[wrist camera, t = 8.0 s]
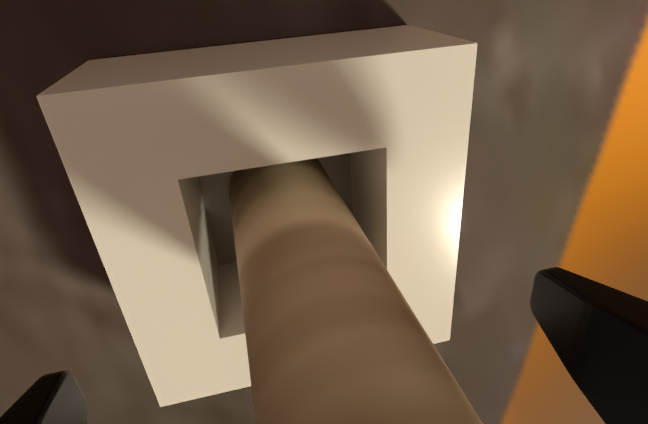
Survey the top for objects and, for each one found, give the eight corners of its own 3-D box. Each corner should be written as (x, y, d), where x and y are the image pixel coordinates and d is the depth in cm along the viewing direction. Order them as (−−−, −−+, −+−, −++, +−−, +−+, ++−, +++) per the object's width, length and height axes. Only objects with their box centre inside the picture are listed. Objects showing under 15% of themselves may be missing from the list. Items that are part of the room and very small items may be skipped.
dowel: (331, 224, 15) (497, 548, 7) (238, 242, 15) (288, 621, 6) (324, 136, 14) (530, 412, 5) (219, 152, 13) (251, 494, 4)
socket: (403, 268, 17) (449, 340, 14) (171, 314, 16) (160, 407, 13) (407, 24, 13) (477, 43, 10) (88, 60, 12) (36, 95, 8)
